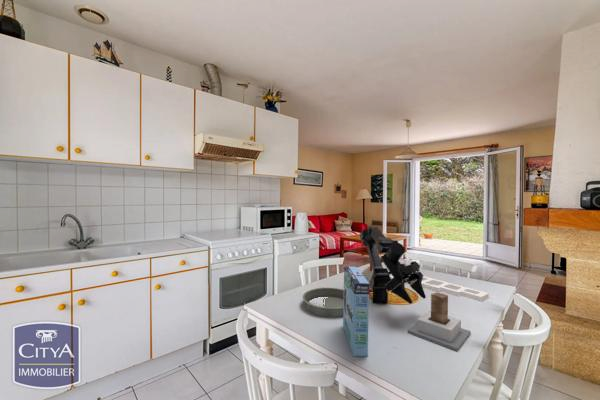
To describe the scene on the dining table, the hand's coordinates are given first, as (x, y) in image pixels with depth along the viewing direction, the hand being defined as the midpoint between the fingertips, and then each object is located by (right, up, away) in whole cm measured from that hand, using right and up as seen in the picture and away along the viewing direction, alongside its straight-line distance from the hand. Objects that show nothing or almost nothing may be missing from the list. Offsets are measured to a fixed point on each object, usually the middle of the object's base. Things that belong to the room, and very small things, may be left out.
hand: (418, 300), depth 101 cm
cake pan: (-33, -9, +17) cm, 38 cm away
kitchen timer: (-8, -9, +40) cm, 42 cm away
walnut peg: (+5, -8, -7) cm, 12 cm away
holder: (+28, -10, +42) cm, 51 cm away
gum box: (-27, -9, -11) cm, 31 cm away
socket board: (+5, -9, -7) cm, 12 cm away
